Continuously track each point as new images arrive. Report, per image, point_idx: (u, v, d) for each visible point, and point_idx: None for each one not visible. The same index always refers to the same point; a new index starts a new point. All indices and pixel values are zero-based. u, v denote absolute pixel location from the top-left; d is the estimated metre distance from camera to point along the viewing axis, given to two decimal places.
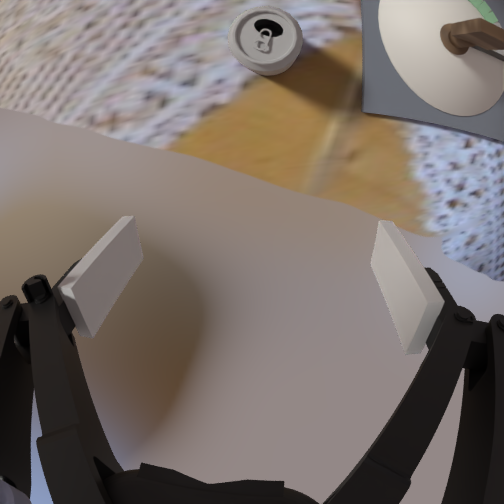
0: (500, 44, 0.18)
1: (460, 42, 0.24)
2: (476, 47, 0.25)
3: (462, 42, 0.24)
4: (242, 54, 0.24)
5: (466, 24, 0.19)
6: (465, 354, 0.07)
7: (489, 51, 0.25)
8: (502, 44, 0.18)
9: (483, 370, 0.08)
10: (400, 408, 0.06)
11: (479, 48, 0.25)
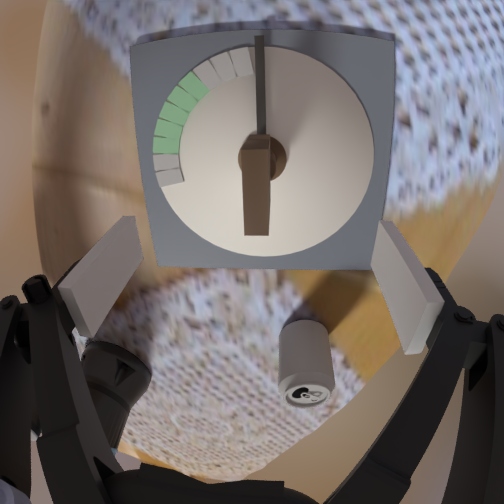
0: None
1: None
2: (264, 126, 0.28)
3: None
4: None
5: None
6: (465, 354, 0.07)
7: (260, 99, 0.26)
8: None
9: (483, 370, 0.08)
10: (400, 408, 0.06)
11: (263, 120, 0.27)
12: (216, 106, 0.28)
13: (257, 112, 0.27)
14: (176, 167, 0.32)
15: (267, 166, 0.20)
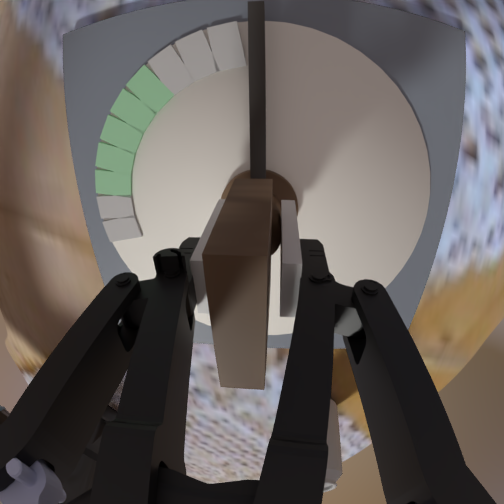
0: (268, 280, 0.11)
1: None
2: (262, 156, 0.17)
3: None
4: None
5: None
6: (333, 311, 0.09)
7: (257, 110, 0.15)
8: None
9: (365, 338, 0.10)
10: (284, 382, 0.07)
11: (261, 146, 0.16)
12: (184, 121, 0.17)
13: (251, 132, 0.16)
14: (129, 215, 0.21)
15: (264, 290, 0.09)
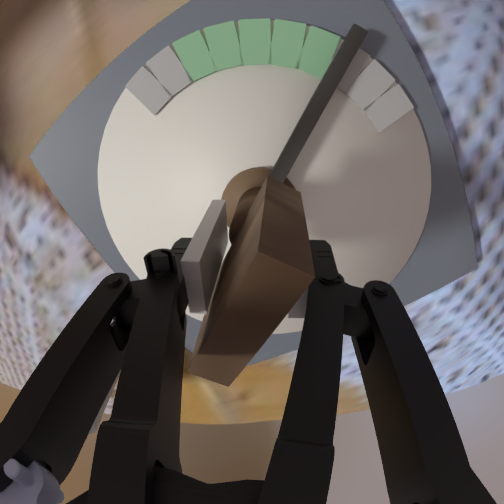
0: None
1: None
2: (290, 163, 0.17)
3: None
4: None
5: None
6: (342, 313, 0.09)
7: (308, 121, 0.16)
8: None
9: (373, 339, 0.10)
10: (292, 383, 0.07)
11: (294, 154, 0.17)
12: (302, 99, 0.16)
13: (292, 138, 0.16)
14: (169, 91, 0.16)
15: (292, 303, 0.09)
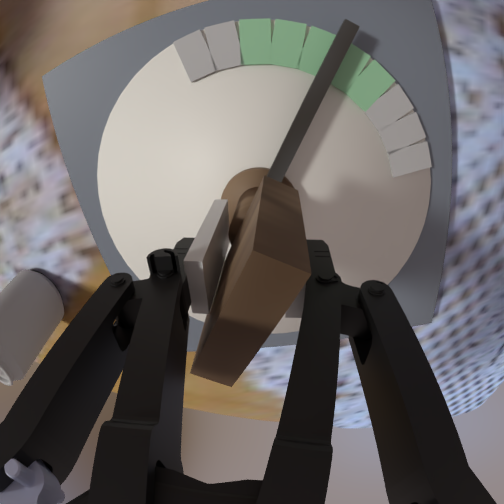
0: None
1: None
2: (287, 162, 0.17)
3: None
4: None
5: None
6: (339, 312, 0.09)
7: (303, 119, 0.15)
8: None
9: (371, 338, 0.10)
10: (290, 383, 0.07)
11: (291, 153, 0.17)
12: (337, 122, 0.17)
13: (288, 136, 0.16)
14: (216, 65, 0.15)
15: (290, 301, 0.09)
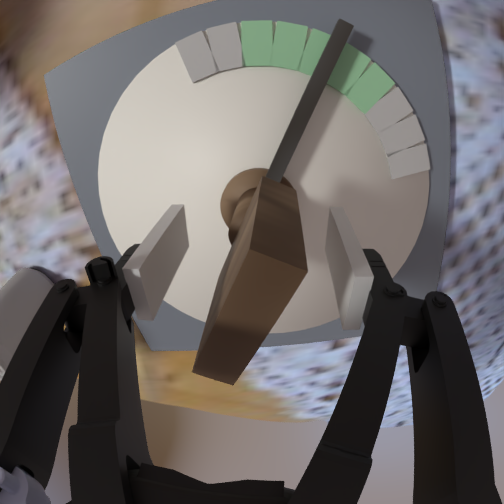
0: None
1: None
2: (285, 162, 0.17)
3: None
4: None
5: None
6: (401, 327, 0.08)
7: (300, 119, 0.16)
8: None
9: (427, 348, 0.10)
10: (343, 390, 0.07)
11: (289, 153, 0.17)
12: (337, 124, 0.17)
13: (286, 136, 0.16)
14: (217, 66, 0.15)
15: (287, 299, 0.09)
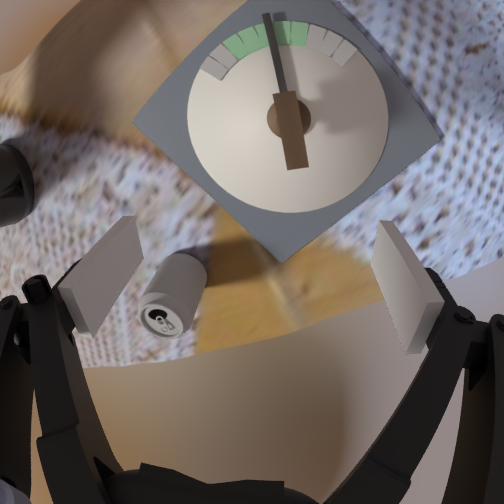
0: None
1: None
2: (285, 88, 0.29)
3: None
4: (164, 338, 0.38)
5: None
6: (465, 354, 0.07)
7: (278, 66, 0.28)
8: None
9: (483, 370, 0.08)
10: (400, 408, 0.06)
11: (284, 83, 0.29)
12: (297, 59, 0.28)
13: (277, 77, 0.29)
14: (226, 67, 0.29)
15: (297, 105, 0.21)
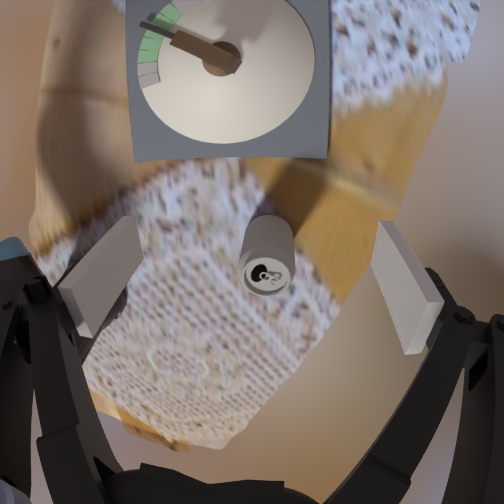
0: None
1: (227, 52, 0.30)
2: None
3: (227, 52, 0.30)
4: (281, 292, 0.39)
5: (232, 68, 0.27)
6: (465, 354, 0.07)
7: None
8: None
9: (483, 370, 0.08)
10: (400, 408, 0.06)
11: None
12: (187, 25, 0.31)
13: None
14: (154, 71, 0.34)
15: (188, 34, 0.23)
